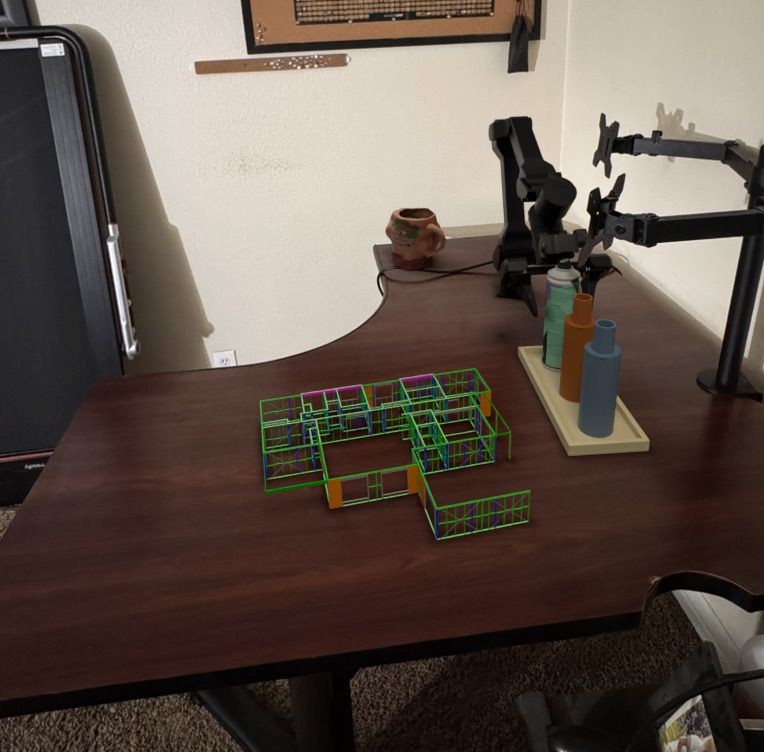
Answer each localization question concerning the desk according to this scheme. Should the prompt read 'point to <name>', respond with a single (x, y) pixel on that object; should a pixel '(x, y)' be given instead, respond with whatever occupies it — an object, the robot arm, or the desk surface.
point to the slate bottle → (600, 381)
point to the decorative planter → (414, 237)
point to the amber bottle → (575, 346)
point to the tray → (567, 413)
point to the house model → (413, 471)
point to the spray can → (558, 311)
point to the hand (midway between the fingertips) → (563, 315)
